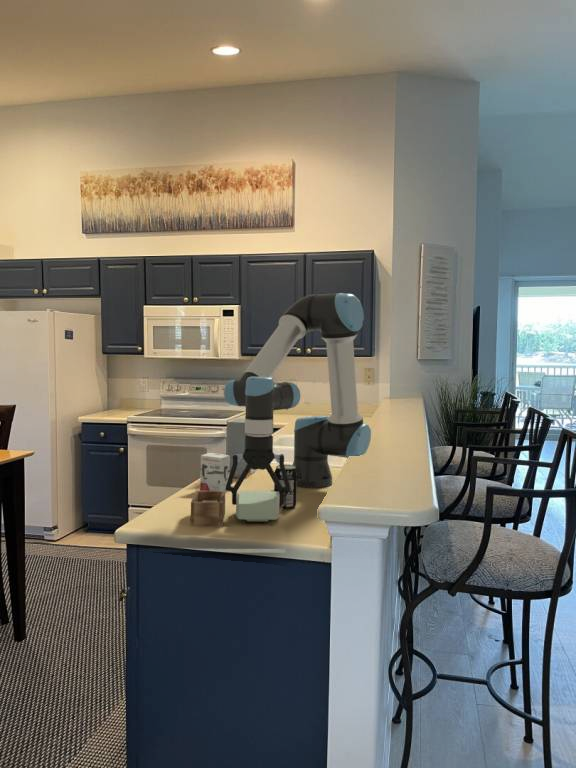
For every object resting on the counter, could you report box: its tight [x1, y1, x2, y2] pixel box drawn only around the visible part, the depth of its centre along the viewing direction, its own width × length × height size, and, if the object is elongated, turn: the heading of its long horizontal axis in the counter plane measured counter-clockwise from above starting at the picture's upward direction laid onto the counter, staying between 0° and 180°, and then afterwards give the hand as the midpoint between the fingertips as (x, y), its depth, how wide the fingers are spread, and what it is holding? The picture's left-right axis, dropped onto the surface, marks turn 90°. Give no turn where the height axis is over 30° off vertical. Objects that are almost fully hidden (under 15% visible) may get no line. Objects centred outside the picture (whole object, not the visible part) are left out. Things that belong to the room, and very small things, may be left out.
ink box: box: [199, 452, 230, 493], centre depth 201 cm, size 9×5×12 cm, turn 62°
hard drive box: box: [226, 417, 258, 479], centre depth 228 cm, size 16×8×20 cm, turn 168°
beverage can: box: [273, 464, 298, 510], centre depth 183 cm, size 7×7×12 cm
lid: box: [237, 490, 278, 522], centre depth 168 cm, size 10×14×5 cm
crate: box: [190, 490, 226, 528], centre depth 166 cm, size 8×13×7 cm, turn 3°
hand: (257, 516), depth 168 cm, fingers closed on lid, 10 cm apart
